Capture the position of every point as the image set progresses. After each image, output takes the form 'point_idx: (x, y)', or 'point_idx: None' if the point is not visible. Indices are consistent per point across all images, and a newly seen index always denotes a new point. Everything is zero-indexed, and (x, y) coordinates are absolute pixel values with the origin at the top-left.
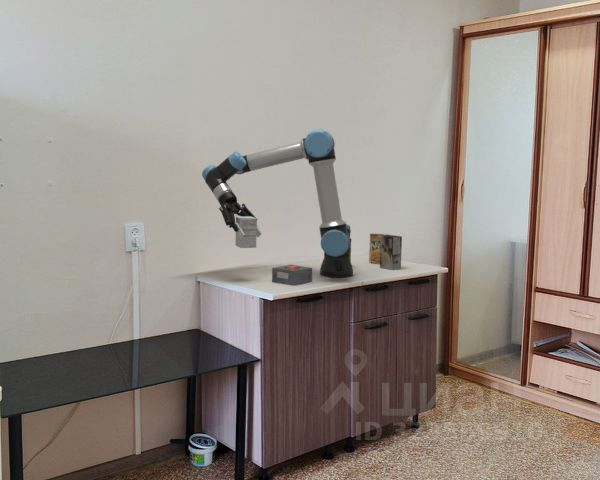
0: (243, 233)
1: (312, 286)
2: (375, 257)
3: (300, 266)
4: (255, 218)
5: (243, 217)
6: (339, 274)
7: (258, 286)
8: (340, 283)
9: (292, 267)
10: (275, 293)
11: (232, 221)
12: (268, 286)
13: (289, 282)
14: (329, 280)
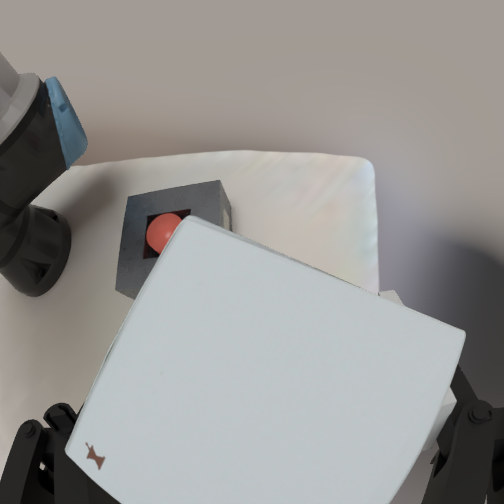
0: (391, 299)
1: (204, 171)
2: None
3: (127, 236)
4: (207, 222)
5: (368, 384)
6: (62, 218)
7: (330, 264)
8: (129, 166)
9: (179, 217)
10: (354, 162)
11: (492, 424)
12: (303, 243)
13: (229, 219)
14: (108, 207)
